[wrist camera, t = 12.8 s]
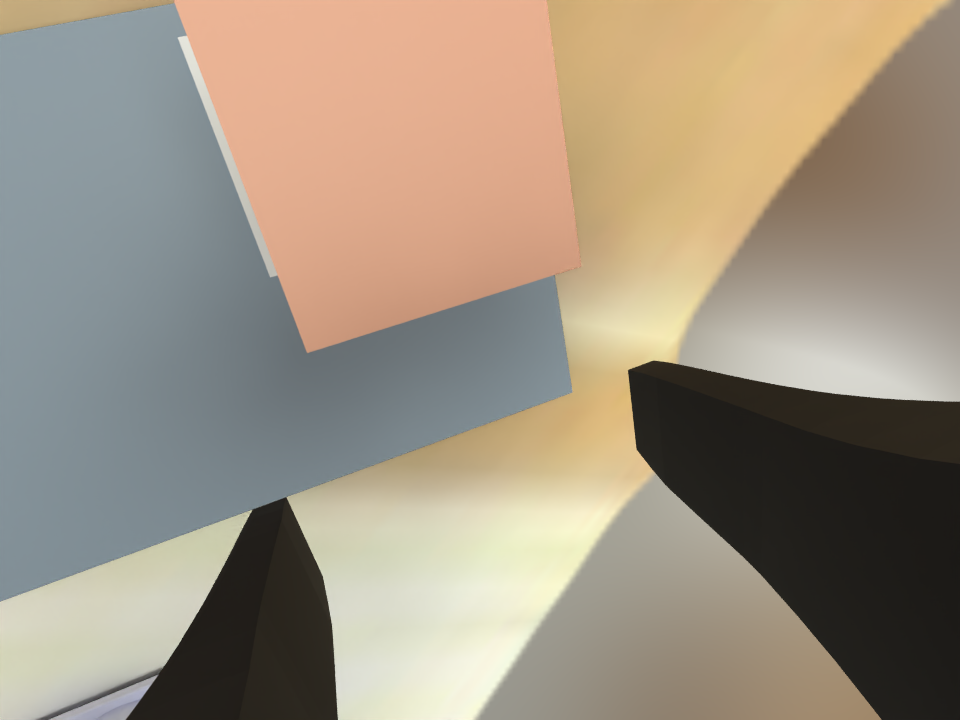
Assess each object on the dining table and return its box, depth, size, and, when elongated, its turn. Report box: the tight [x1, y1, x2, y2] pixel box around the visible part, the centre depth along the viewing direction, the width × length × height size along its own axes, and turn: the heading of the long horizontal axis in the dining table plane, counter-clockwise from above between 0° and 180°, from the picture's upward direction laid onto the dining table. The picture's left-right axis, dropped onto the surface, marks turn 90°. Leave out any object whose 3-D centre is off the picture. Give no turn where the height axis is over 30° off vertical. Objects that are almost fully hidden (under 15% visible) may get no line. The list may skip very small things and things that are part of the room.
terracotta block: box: [174, 0, 581, 353], centre depth 10 cm, size 4×4×5 cm
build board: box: [0, 3, 572, 601], centre depth 18 cm, size 15×22×1 cm
